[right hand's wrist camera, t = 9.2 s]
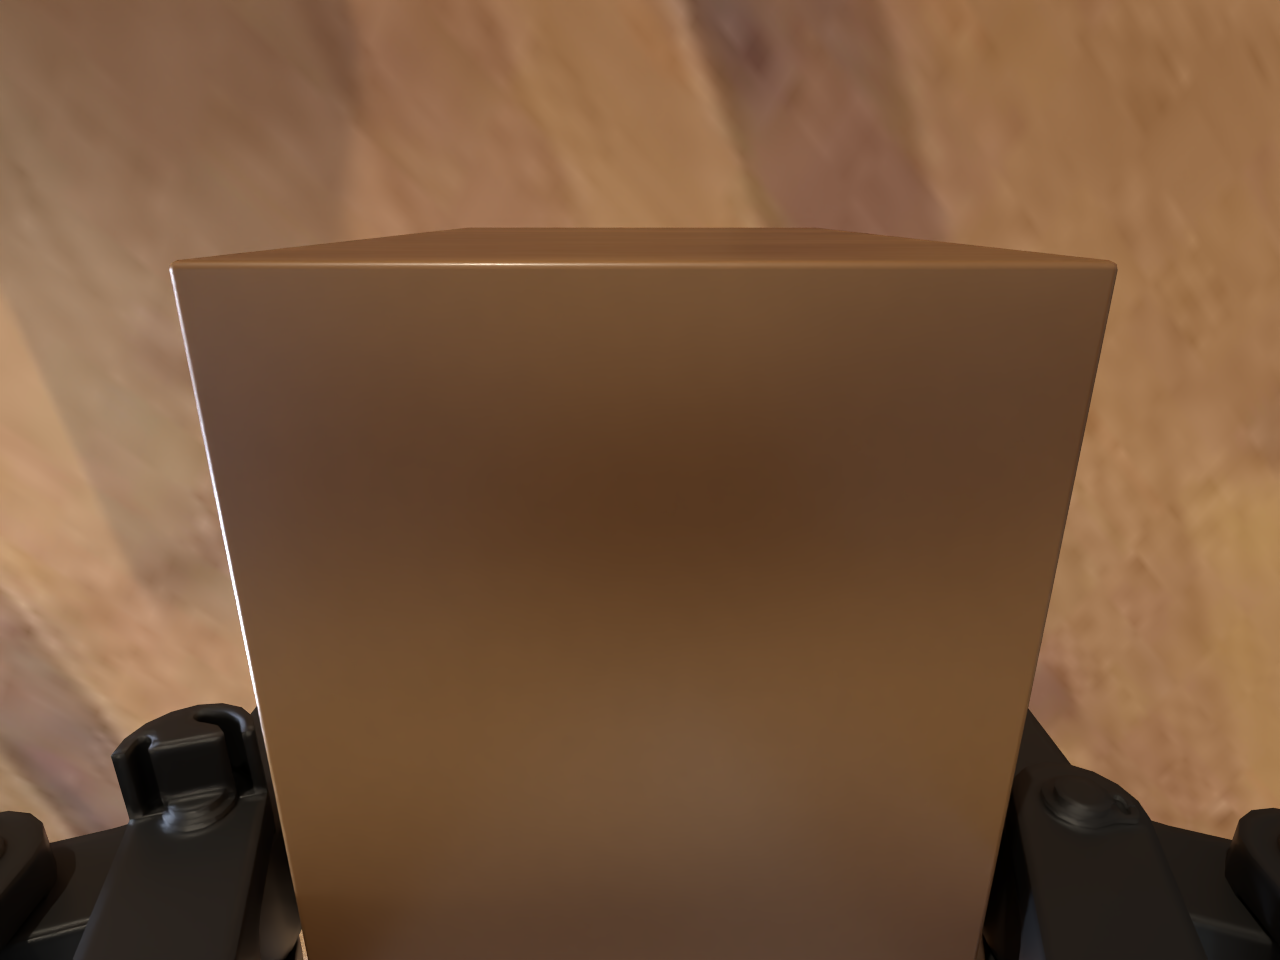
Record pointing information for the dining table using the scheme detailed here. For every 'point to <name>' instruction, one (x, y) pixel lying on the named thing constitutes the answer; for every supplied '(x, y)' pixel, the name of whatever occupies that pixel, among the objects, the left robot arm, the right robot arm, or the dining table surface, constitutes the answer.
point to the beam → (642, 577)
